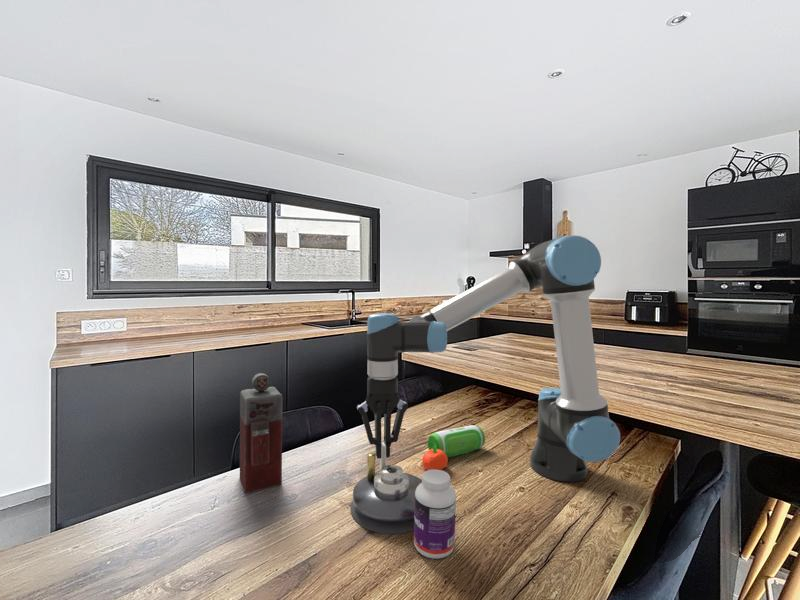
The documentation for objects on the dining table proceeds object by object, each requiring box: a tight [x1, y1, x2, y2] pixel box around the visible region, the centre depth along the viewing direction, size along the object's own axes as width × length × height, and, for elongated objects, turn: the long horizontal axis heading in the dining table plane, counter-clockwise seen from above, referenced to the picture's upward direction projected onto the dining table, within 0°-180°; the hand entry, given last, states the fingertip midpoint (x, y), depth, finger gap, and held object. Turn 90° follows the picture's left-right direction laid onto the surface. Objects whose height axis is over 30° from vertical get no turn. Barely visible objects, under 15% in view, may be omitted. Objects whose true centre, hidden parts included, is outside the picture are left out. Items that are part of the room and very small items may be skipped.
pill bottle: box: [413, 469, 457, 560], centre depth 74 cm, size 8×8×14 cm
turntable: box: [352, 452, 422, 524], centre depth 88 cm, size 18×18×8 cm
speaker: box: [427, 424, 486, 458], centre depth 117 cm, size 18×7×8 cm, turn 119°
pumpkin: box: [421, 446, 449, 471], centre depth 106 cm, size 7×8×6 cm
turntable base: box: [350, 500, 414, 535], centre depth 88 cm, size 19×19×2 cm
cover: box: [374, 464, 409, 501], centre depth 87 cm, size 8×8×5 cm
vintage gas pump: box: [239, 372, 284, 494], centre depth 97 cm, size 9×11×28 cm
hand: (382, 469), depth 94 cm, fingers closed
